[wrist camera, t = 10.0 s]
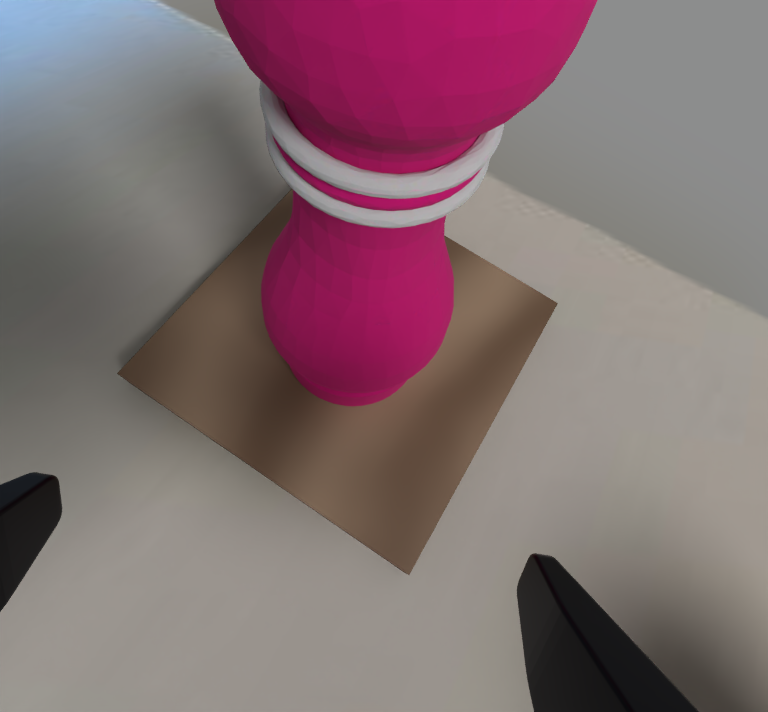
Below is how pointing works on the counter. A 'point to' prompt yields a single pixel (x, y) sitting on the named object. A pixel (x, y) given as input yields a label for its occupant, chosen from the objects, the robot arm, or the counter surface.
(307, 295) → the pepper mill
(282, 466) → the walnut board
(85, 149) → the counter surface
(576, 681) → the robot arm
